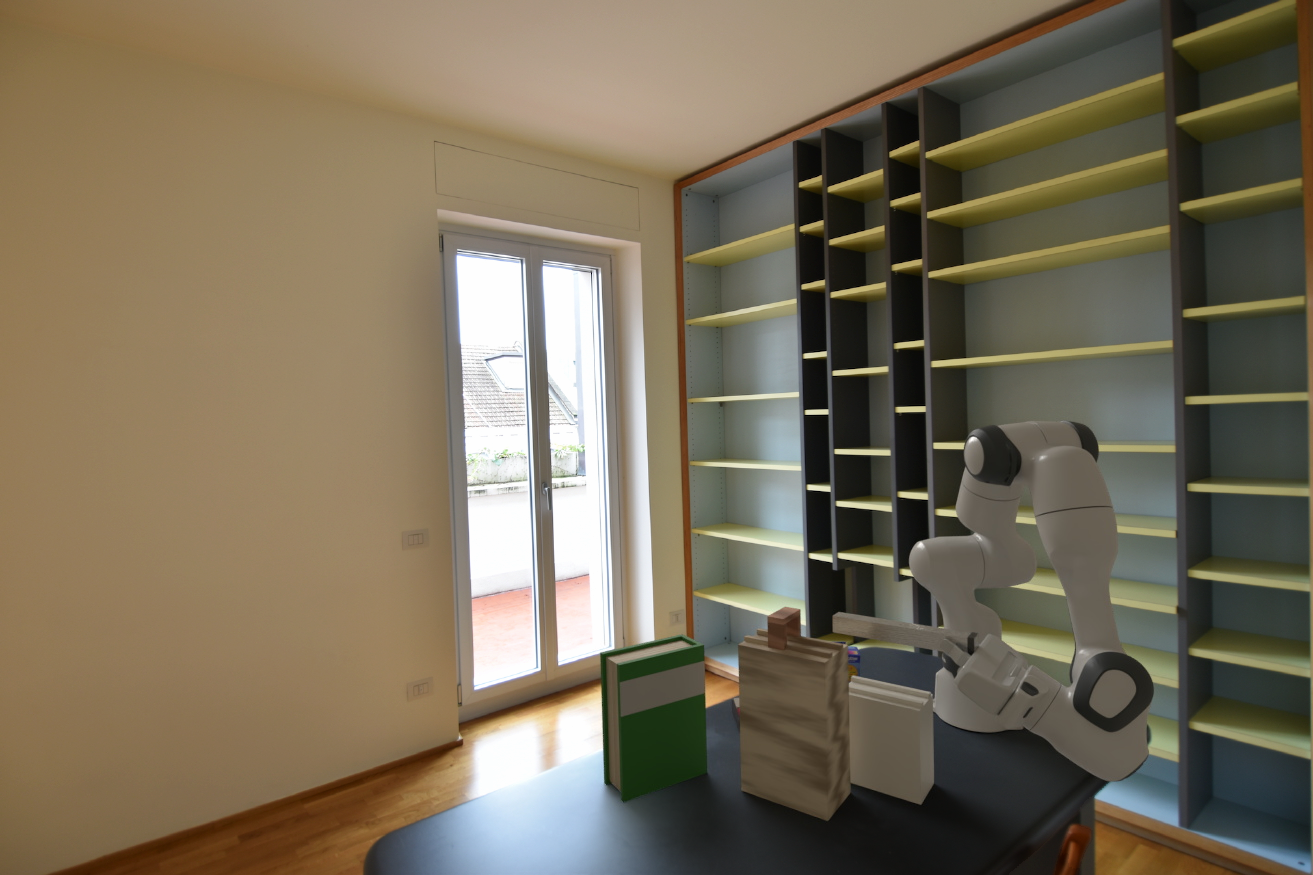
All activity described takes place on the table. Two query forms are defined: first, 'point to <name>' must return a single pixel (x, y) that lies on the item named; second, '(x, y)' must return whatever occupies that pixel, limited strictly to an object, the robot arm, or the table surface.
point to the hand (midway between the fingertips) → (945, 637)
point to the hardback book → (653, 715)
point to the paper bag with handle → (794, 717)
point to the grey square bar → (902, 632)
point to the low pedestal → (891, 738)
